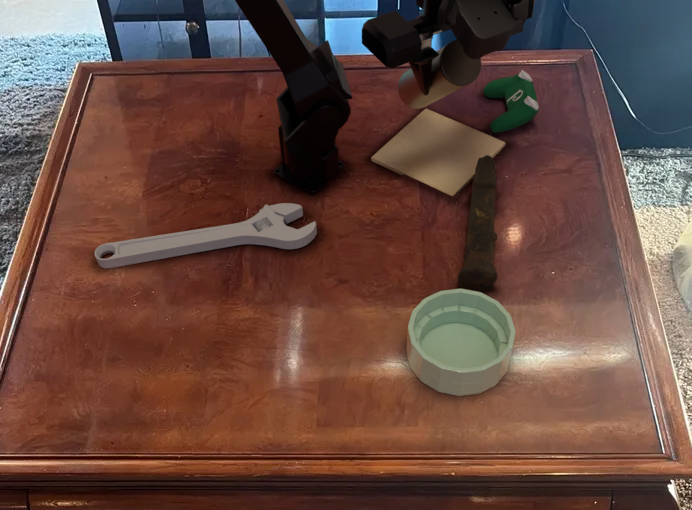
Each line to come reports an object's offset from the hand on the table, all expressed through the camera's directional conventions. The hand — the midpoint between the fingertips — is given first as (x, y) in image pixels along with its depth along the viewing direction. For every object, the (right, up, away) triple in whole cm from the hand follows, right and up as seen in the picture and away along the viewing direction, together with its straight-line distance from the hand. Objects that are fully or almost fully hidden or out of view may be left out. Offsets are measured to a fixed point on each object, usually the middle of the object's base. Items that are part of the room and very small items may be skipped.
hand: (443, 86), depth 93 cm
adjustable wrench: (-27, -18, +1) cm, 32 cm away
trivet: (+1, -6, +8) cm, 10 cm away
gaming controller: (+10, 0, +12) cm, 16 cm away
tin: (-2, +2, +6) cm, 7 cm away
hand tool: (+4, -17, -1) cm, 17 cm away
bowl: (0, -31, -11) cm, 33 cm away
